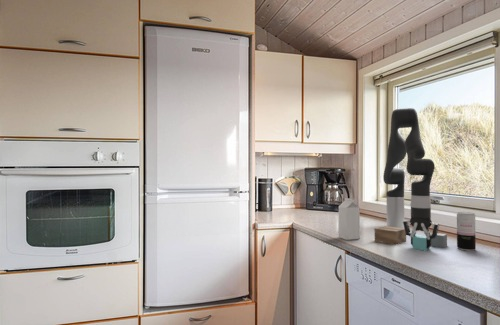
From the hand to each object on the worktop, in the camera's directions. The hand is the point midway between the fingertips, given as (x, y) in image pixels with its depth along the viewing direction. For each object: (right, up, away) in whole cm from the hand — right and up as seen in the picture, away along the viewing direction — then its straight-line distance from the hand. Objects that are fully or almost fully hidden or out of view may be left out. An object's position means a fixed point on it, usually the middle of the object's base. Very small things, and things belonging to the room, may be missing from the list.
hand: (420, 246), depth 146 cm
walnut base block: (-7, -1, +15) cm, 16 cm away
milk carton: (-24, -1, +21) cm, 32 cm away
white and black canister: (+18, -1, -1) cm, 18 cm away
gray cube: (+10, -1, +5) cm, 12 cm away
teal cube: (0, -1, 0) cm, 1 cm away
